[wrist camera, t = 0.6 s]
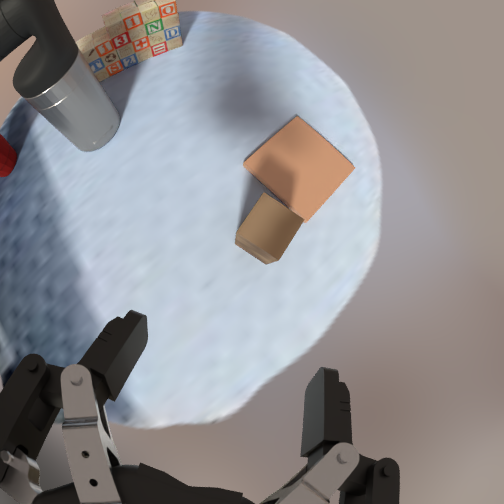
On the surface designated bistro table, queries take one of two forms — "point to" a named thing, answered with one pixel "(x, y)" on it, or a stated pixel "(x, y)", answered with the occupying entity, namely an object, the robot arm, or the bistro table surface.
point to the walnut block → (268, 229)
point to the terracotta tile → (299, 167)
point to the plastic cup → (6, 157)
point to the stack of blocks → (132, 36)
